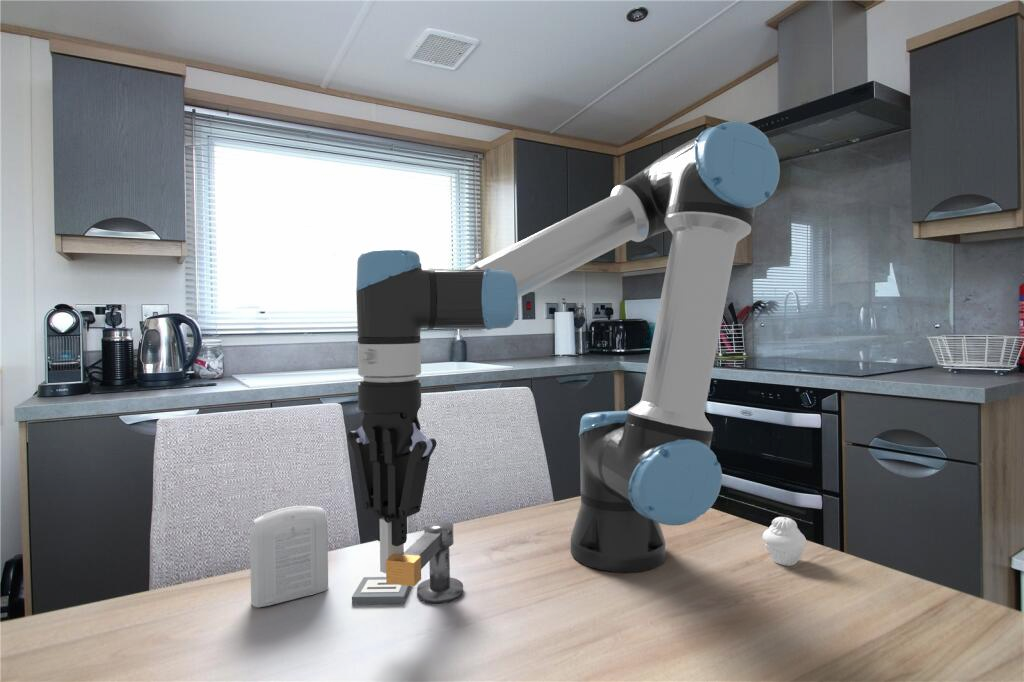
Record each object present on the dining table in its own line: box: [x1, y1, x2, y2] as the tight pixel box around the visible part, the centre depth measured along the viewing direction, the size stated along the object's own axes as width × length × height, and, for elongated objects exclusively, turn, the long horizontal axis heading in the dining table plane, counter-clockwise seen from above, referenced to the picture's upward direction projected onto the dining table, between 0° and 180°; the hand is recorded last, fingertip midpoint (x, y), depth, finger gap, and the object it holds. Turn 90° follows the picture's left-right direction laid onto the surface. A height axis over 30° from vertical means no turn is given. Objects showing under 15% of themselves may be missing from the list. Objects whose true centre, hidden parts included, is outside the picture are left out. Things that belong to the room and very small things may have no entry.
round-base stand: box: [416, 547, 464, 605], centre depth 80 cm, size 6×6×7 cm
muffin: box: [762, 516, 807, 567], centre depth 88 cm, size 6×6×7 cm
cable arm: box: [385, 520, 455, 587], centre depth 75 cm, size 14×4×3 cm, turn 166°
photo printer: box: [249, 505, 329, 608], centre depth 80 cm, size 10×4×12 cm, turn 123°
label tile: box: [351, 576, 412, 605], centre depth 80 cm, size 7×6×1 cm
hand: (392, 568), depth 71 cm, fingers closed
